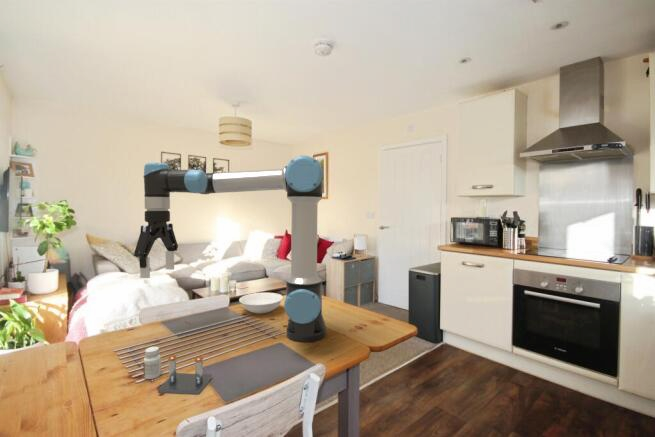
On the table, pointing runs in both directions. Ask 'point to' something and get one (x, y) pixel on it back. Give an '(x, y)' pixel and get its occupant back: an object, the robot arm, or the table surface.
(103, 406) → the table surface
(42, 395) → the table surface
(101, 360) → the table surface
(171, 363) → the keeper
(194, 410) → the table surface
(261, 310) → the bowl
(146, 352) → the pill bottle
